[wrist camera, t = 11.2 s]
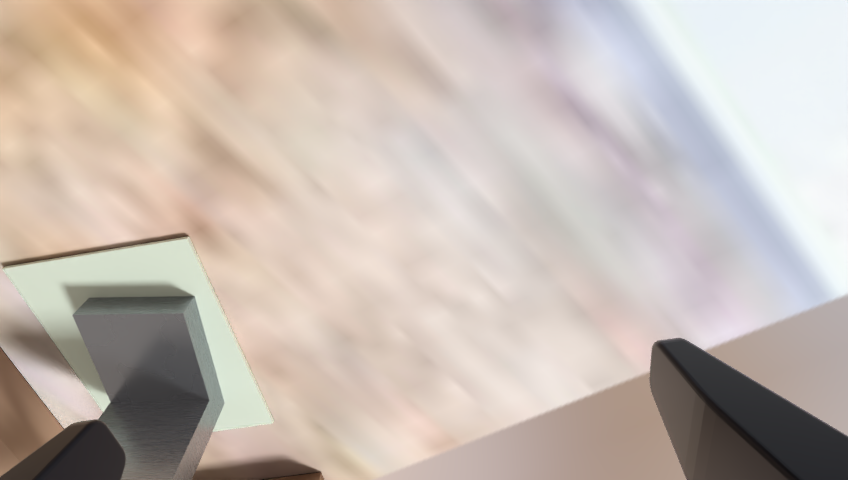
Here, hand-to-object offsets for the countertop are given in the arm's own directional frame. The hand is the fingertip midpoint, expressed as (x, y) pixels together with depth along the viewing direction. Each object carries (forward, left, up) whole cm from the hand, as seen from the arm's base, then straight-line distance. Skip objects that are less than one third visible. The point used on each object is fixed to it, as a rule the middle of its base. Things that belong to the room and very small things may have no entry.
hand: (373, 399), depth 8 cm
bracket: (+8, -12, -12) cm, 19 cm away
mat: (+7, -13, -12) cm, 19 cm away
